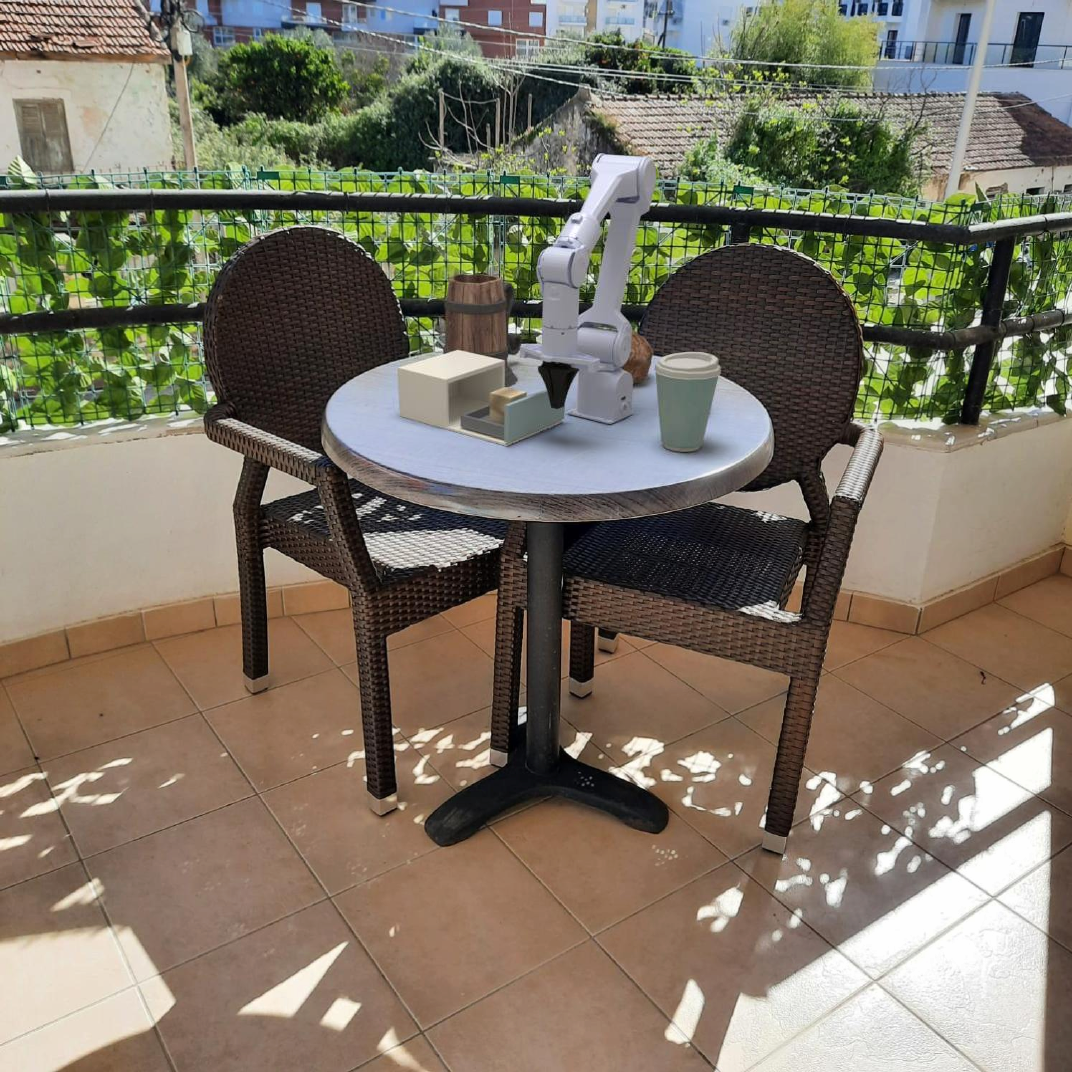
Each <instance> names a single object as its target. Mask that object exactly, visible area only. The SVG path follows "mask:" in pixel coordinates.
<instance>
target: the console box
mask: <svg viewBox="0 0 1072 1072" xmlns="http://www.w3.org/2000/svg"><path fill="white" fill-rule="evenodd" d="M397 384H398V407H399V408H398V409H399V413H398V414H399V417H401V418H406V419H408V420H412V421H415V422H419V423H423V424H426V425H430V426H433V427H436V428H441V429H443V430H448V431H450V430H451V431H452V432H453V433H457V434H458V433H459V434H461V435H465V436H468V437H472V438H476V439H479V438H480V440H482V441H486V440H487V442H489V441H490V443H493V444H496V443H498V444H497V445H500V446H503V445H504V447H508V446H510V445H513V444H515V443H517V442H519V440H520V441H522V440H524V439H527V438H529V437H531V436H533V435H536V434H538V433H541V432H543V431H545V430H547V428H548V429H551V428H553V427H554V425H555V426H557V425H559V424H561V423H563V420H561V421H558V422H556V423H553V424H551V425H549V426H546V427H544V428H542V429H539V430H537V431H535V432H532V433H530V434H528V435H525V436H523V437H521V438H518V439H516V440H514V441H511V442H509V443H507V442H504V439H502V438H498V437H495V436H491V435H488V434H484V433H481V432H477V431H473V430H470V429H466V428H463V427H461V420H460V415H462V414H465V413H468V412H470V411H473V410H476V409H478V408H481V407H484V406H487V405H489V404H490V393H491V392H494V391H497V390H499V389H502V388H505V360H501V359H496V358H492V357H487V356H483V355H478V354H474V353H469V352H465V351H461V350H456V351H453V352H449V353H446V354H440V355H437V356H433V357H429V358H426V359H423V360H420V361H416V362H412V363H409V364H406V365H403V366H399V367H397ZM542 430H543V431H542ZM451 431H450V432H451ZM540 431H541V432H540ZM512 443H513V444H512Z"/></svg>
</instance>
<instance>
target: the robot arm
mask: <svg viewBox="0 0 1072 1072" xmlns="http://www.w3.org/2000/svg"><path fill="white" fill-rule="evenodd" d="M656 171H657V170H656V164H655V162H654V159H652V157H651V156H649V155H645V156H637V155H619V154H618V155H617V154H606V153H598V154H597V156H596V157H595V158H594V159H593V162H592V163H591V167H590V186H591V187H590V188H589V191H588V194H587V196H586V198H585V200H584V203H583V205H582V207H581V210H580V211H579V212H575V213H572V214H571V215H570V216H569V217H568V220H567V221H566V223H565V225H564V226H563V228H562V229H561V231H560V233H559V235H558V236H557V238H556V239H555V242H554V244H552V246H548V247H547V248H546V249H543V250H542V251H541V252H540V254H539V256H538V259H537V266H536V272H535V273H536V277H537V280H538V283H539V293H540V295H541V296H542V322H541V323H542V324H541V325H542V327H541V345H538V344H537V345H535V344H529V343H525V344H521V346H520V350H519V357H520V358H522V359H532V360H537V361H542V363H541V365H538V367H537V372H538V374H539V375H540V377H541V379H542V382H543V383H544V386H545V389H547V392H548V396H549V400H550V405H551V408H555V409H559V408H562V407H564V405H566V400H567V396H568V393H569V390H570V389H571V386H572V384H573V381H574V380H575V378H576V376H577V375H578V377H577V378H578V379H577V381H578V382H577V399H576V400H577V402H576V407H574V408H571V409H568V410H567V411H566V413H567V414H568V415H572V416H576V417H580V418H584V419H588V420H590V421H591V420H592V421H596V422H600V423H603V424H608V425H612V424H614V423H617V422H619V421H620V420H622V419H625V418H627V417H630V416H631V415H633V414H634V411H633V410H632V403H633V402H632V401H633V393H634V392H633V391H634V390H633V389H634V383H633V378H632V375H631V374H630V373H629V372H627V371H624V370H623V369H621V368H620V367H622V366H623V365H624V364H625V363H626V362H627V360H628V358H629V355H630V351H631V335H632V330H633V327H632V324H631V323H630V321H629V320H628V319H627V318H626V317H625V316H624V314H622V312H621V310H622V306H623V299H624V296H625V291H626V285H627V280H628V277H629V271H630V267H631V263H632V262H631V261H632V257H633V251H634V247H635V243H636V239H637V232H638V228H639V224H640V220H641V216H642V215H645V214H646V213H647V212H649V211H650V208H651V205H652V201H653V196H654V191H655V187H656V182H657V174H656ZM607 213H608V214H609V215H610V220H609V221H610V222H609V226H608V230H607V235H606V240H605V245H604V250H603V254H602V255H603V256H602V259H601V263H600V264H601V265H600V270H599V274H598V279H597V284H596V289H595V293H594V298H593V304H592V306H591V307H590V308H588V309H586V311H584V312H582V313H581V314H580V313H579V311H580V310H579V309H580V307H579V305H580V287H581V286H582V285H583V284H584V282H585V280H586V277H587V273H588V268H589V265H590V261H591V260H590V256H591V253H592V251H593V250H594V248H595V246H596V244H597V243H598V241H599V239H600V237H601V235H602V228H601V225H600V224H601V223H602V221H603V220H604V218H605V216H606V215H607ZM617 330H618V331H617Z"/></svg>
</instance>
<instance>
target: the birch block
mask: <svg viewBox="0 0 1072 1072" xmlns="http://www.w3.org/2000/svg"><path fill="white" fill-rule="evenodd" d="M527 396H528V395H527V391H524V390H523V391H522V390H520V389H515V388H511V387H505V388H502V389H499V390H497V391H494V392H491V393H490V421H492V422H496V423H499V424H503V425H504V414H505V405H506V404H508V403H511V402H514V401H516V400H519V399H522V398H524V397H527Z"/></svg>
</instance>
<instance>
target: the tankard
mask: <svg viewBox="0 0 1072 1072" xmlns="http://www.w3.org/2000/svg"><path fill="white" fill-rule="evenodd" d="M515 293H516V292H515V287H514V284H512V283H511V282H506V281H503V280H502V278H501V277H499V276H497V275H491V274H484V273H481V274H479V273H478V274H465V273H458V274H453V275H450V277H449V278H448V284H447V291H446V296H445V297H444V308H445V323H444V324H445V326H444V327H445V328H444V329H445V330H444V331H445V332H444V345H443V346H442V347H443V352H442V353H443V354H446V353H449V352H453V351H456V350H461V351H465V352H469V353H474V354H478V355H483V356H487V357H492V358H496V359H501V360H505V387H508V388H511V387H513V386H514V385H516V384H517V383H518V381H519V379H518V376H516V375H515V373H514V372H513V369H512V368H511V367H510V366H508V358H509V355H510V356H516V355H517V354H518V353H520V346H522V345H523V344H522V342H523V341H522V340H523V339H522V337H521V335H520V334H519V333H515V332H514V333H513V332H509V325H510V324H509V322H510V317H511V311H512V309H513V305H514V300H515ZM516 382H517V383H516ZM512 385H513V386H512Z"/></svg>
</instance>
